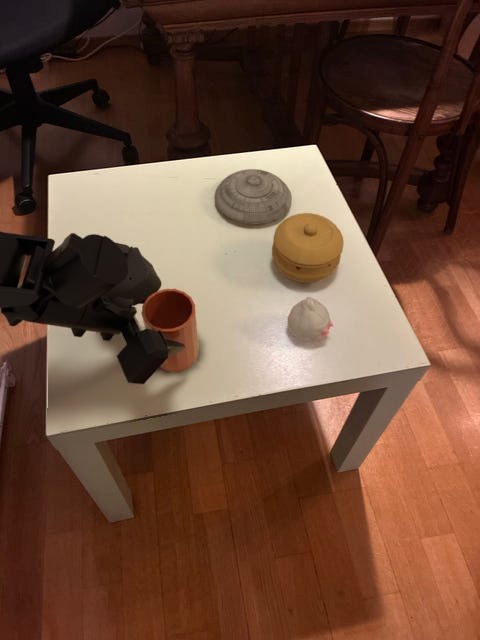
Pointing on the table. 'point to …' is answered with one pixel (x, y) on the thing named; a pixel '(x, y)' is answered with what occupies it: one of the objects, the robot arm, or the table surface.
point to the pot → (307, 247)
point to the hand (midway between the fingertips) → (170, 323)
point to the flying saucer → (253, 196)
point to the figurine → (309, 320)
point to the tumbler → (173, 325)
